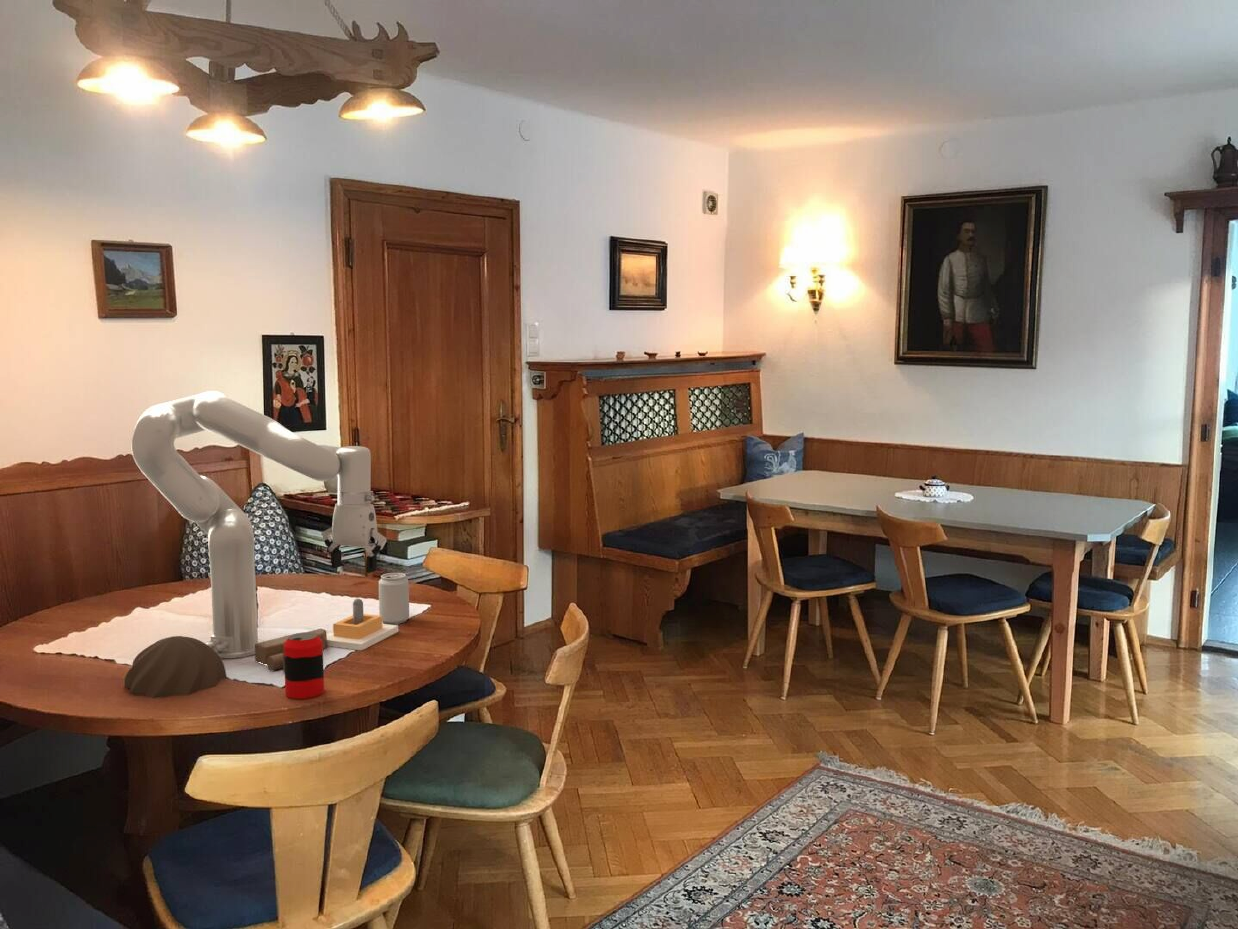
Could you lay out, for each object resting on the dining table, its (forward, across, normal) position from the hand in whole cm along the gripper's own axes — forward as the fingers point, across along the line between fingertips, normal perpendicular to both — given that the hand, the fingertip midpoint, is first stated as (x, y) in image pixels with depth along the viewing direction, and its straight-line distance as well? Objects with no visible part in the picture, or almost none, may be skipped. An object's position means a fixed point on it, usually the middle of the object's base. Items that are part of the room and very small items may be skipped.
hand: (353, 569), depth 244 cm
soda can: (+18, -12, +35) cm, 41 cm away
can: (+17, -1, -17) cm, 24 cm away
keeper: (+17, -1, -1) cm, 17 cm away
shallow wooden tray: (+15, -1, -1) cm, 15 cm away
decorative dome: (+19, +18, +38) cm, 46 cm away
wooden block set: (+18, 0, +18) cm, 25 cm away
